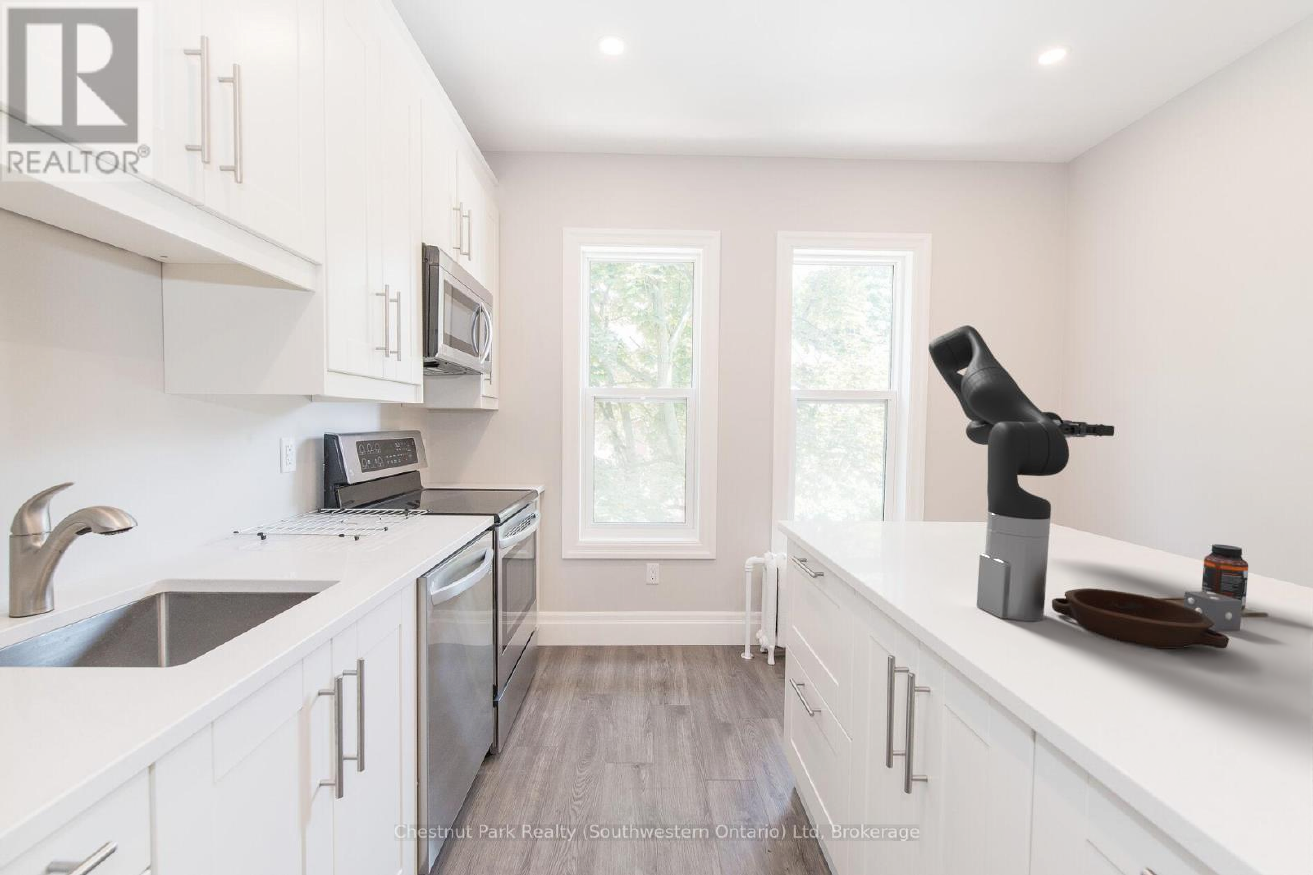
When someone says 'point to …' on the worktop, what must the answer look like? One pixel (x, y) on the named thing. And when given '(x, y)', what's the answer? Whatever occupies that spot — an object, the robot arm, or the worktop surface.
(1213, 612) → the die
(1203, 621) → the dish
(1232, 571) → the supplement bottle
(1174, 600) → the board
